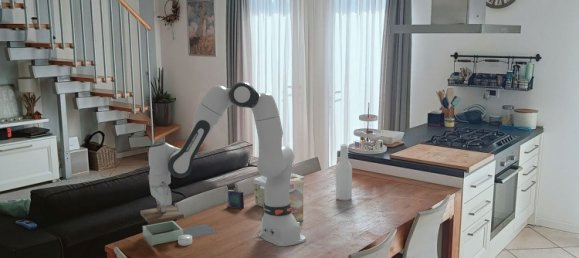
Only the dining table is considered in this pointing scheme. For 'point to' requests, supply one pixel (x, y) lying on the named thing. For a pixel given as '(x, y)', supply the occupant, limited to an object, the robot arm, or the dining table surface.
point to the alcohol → (344, 175)
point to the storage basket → (260, 184)
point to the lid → (161, 214)
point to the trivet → (199, 230)
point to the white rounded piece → (185, 240)
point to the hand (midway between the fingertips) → (161, 210)
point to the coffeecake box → (296, 198)
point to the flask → (235, 198)
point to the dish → (162, 237)
